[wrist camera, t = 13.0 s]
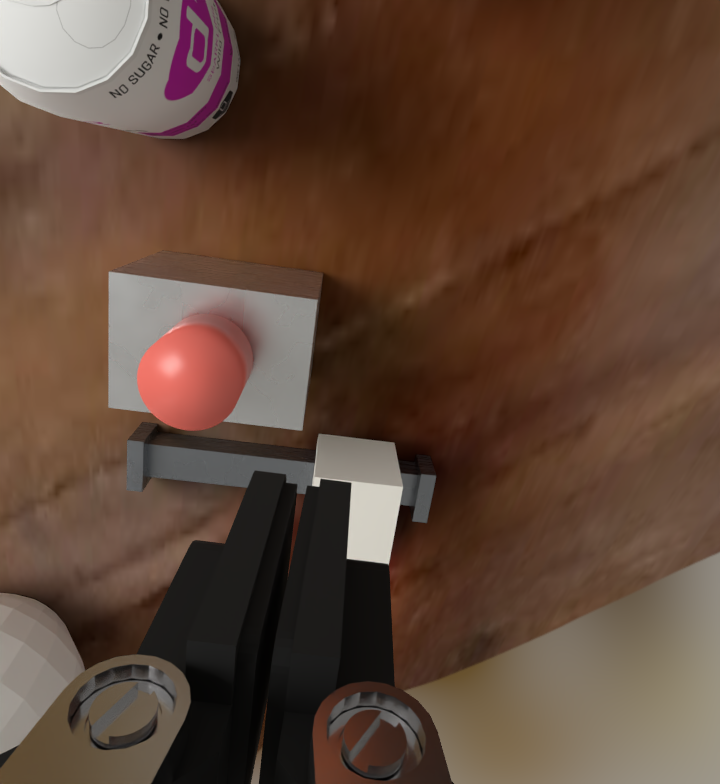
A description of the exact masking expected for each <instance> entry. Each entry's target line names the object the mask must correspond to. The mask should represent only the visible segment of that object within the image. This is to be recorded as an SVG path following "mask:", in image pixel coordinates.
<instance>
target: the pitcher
mask: <svg viewBox="0 0 720 784" xmlns="http://www.w3.org/2000/svg"><path fill="white" fill-rule="evenodd" d="M84 671H85V668H84V664H83V661H82V659H81V657H80V655H79V653H78V650H77V648H76V646H75V644H74V642H73V640H72V638H71V636H70V633H69V631H68V629H67V627H66V625H65V624H64V622H63V621H62V620H61V619H60V618H59V616H58V615H57V614H56V613H55V612H54V611H52V610H51V609H50V608H49V607H47V606H46V605H44V604H42V603H41V602H39V601H37V600H35V599H32V598H28V597H24V596H20V595H17V594H9V593H0V754H2V753H4V752H6V751H8V750H10V749H12V748H14V747H16V746H18V745H20V743H21V742H22V741H23V740H24V738H25V737H26V736H27V735H28V733H29V732H30V731H31V730H32V728H33V727H34V726H35V725H36V723H37V722H38V721H39V720H40V718H41V717H42V716H43V715H44V713H45V712H46V711H47V710H48V708H49V707H50V706H51V705H52V703H53V702H54V701H55V700H56V698H57V697H58V696H59V695H60V694H61V692H62V691H63V690H64V689H65V688H66V687H67V686H68V685H69V684H70V683H71V682H72V681H73V680H74V679H75V678H76V677H77V676H78V675H79V674H81V673H82V672H84Z"/></svg>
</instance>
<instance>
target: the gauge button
mask: <svg viewBox="0 0 720 784" xmlns="http://www.w3.org/2000/svg"><path fill="white" fill-rule="evenodd" d="M252 367H253V352H252V348H251V345H250V343H249V340H248V339H247V337H246V335H245V334H244V333H243V331H242V330H241V329H240V328H239V327H238V326H237V325H235V324H234V323H233V322H231V321H229V320H228V319H226V318H223V317H221V316H218V315H213V314H197V315H193V316H190V317H187V318H185V319H183V320H181V321H180V322H179V323H177V324H176V325H175V326H174V327H173V328H172V329H170V330H169V331H168V332H167V333H166V334H165V335H163V336H162V337H161V338H160V339H159V340H158V341H157V342H155V343H154V344H153V345H152V346H151V347H150V348H149V349H148V350H147V351H146V352H145V354H144V355H143V357H142V359H141V361H140V364H139V367H138V372H137V385H138V390H139V393H140V396H141V398H142V400H143V402H144V404H145V405H146V407H147V408H148V409H149V410H150V412H151V413H152V414H153V415H154V416H155V417H157V418H158V419H159V420H161V421H162V422H164V423H166V424H167V425H170V426H172V427H175V428H178V429H182V430H191V431H195V430H204V429H208V428H211V427H213V426H215V425H218V424H219V423H221V422H222V421H224V420H225V419H226V418H227V417H228V416H229V415H230V414H231V413H232V411H233V409H234V408H235V406H236V404H237V402H238V400H239V398H240V395H241V393H242V391H243V389H244V387H245V385H246V383H247V381H248V379H249V376H250V374H251V371H252Z"/></svg>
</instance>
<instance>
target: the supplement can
mask: <svg viewBox="0 0 720 784" xmlns="http://www.w3.org/2000/svg"><path fill="white" fill-rule="evenodd" d="M239 70H240V55H239V50H238V45H237V40H236V35H235V31H234V29H233V27H232V25H231V23H230V21H229V20H228V18H227V16H226V14H225V12H224V11H223V9H222V7H221V5H220V3H219V2H218V1H217V0H0V85H1V86H2V87H3V88H5V89H6V90H7V91H8V92H10V93H11V94H12V95H13V96H15V97H16V98H17V99H18V100H19V101H21V102H24V103H27V104H29V105H32V106H34V107H37V108H39V109H42V110H45V111H47V112H50V113H52V114H55V115H57V116H61V117H65V118H69V119H74V120H78V121H83V122H87V123H92V124H96V125H101V126H105V127H110V128H114V129H119V130H123V131H128V132H132V133H137V134H141V135H146V136H150V137H155V138H159V139H186V138H188V137H191V136H193V135H196V134H199V133H201V132H204V131H206V130H208V129H209V128H210V127H211V126H212V125H213V124H214V123H216V122H217V121H218V120H219V119H220V118H221V117H222V116H223V115H224V114H225V113H226V111H227V109H228V107H229V105H230V103H231V101H232V99H233V97H234V95H235V92H236V90H237V88H238V79H239Z"/></svg>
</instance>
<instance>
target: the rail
mask: <svg viewBox="0 0 720 784" xmlns="http://www.w3.org/2000/svg"><path fill="white" fill-rule="evenodd" d="M315 458H316V450H308V449H300V448H291V447H283V446H274V445H265V444H257V443H248V442H240V441H231V440H223V439H214V438H206V437H197V436H188V435H180V434H171V433H163V432H157V424H155V423H146V422H142V423H141V424H140V426H139V427H138V428H137V429H136V430H135V432H134V433H133V434H132V435H131V436H130V438H129V439H128V440H127V490H130V491H140V492H142V491H143V490H144V488H145V487H146V485H147V484H148V482H149V481H150V479H151V477H156V478H165V479H174V480H183V481H192V482H201V483H210V484H219V485H228V486H237V487H246V488H247V487H248V485H249V482H250V480H251V477H252V475H253V473H254V471H255V470H256V471H264V472H272V473H280V474H286V476H287V478H286V483H293V484H297V493H300V494H305V493H306V488H307V485H309V486H312V482H313V474H314V466H315ZM398 463H399V468H400V474H401V479H402V484H403V491H402V496H401V501H400V505H407V506H409V508H410V513H411V518H412V521H414V522H423V523H427V519H428V514H429V509H430V505H431V500H432V495H433V490H434V485H435V480H436V473H435V470H434V467H433V463H432V460H431V457H430V456H426V455H418V454H416V458H415V462H411V461H402V460H398Z"/></svg>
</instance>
